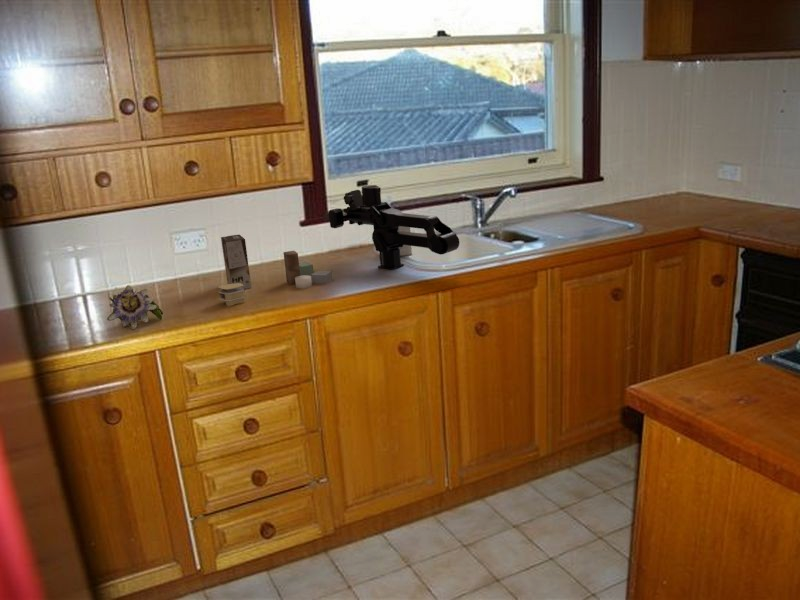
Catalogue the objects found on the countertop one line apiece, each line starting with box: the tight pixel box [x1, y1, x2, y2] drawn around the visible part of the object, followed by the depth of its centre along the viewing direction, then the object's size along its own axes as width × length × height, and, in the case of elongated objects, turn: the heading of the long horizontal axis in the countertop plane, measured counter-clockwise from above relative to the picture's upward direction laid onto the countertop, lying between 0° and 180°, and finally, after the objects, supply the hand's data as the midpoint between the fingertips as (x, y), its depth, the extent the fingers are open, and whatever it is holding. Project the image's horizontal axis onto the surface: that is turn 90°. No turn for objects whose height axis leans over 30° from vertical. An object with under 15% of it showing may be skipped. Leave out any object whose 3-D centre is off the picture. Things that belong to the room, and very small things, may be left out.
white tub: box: [295, 275, 313, 290], centre depth 234 cm, size 5×5×3 cm
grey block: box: [311, 270, 334, 285], centre depth 238 cm, size 5×5×3 cm
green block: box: [299, 260, 315, 276], centre depth 247 cm, size 6×4×4 cm, turn 33°
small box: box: [398, 226, 413, 257], centre depth 266 cm, size 8×6×13 cm
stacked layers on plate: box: [218, 283, 246, 307], centre depth 222 cm, size 10×9×6 cm
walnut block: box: [283, 250, 300, 286], centre depth 238 cm, size 4×4×10 cm
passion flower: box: [107, 284, 164, 331], centre depth 208 cm, size 13×12×14 cm
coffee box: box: [220, 234, 252, 290], centre depth 237 cm, size 9×6×16 cm
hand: (334, 212), depth 262 cm, fingers open, 9 cm apart
